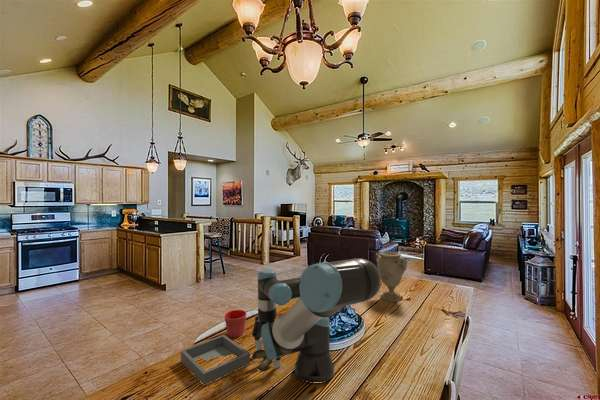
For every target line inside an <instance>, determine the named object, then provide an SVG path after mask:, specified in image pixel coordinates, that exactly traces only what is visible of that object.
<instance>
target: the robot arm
mask: <svg viewBox="0 0 600 400" xmlns="http://www.w3.org/2000/svg"><path fill="white" fill-rule="evenodd" d="M256 282H257V308H258V309H257V315H256V316H255V317H254V325H253V330H252V334H251V337H252V338H254V340H255V342H254V343H255V351H257V350H259V349H261V350H265V353H266V355H267V357H268V358H269V359H273V360H272V362H273V369H274V370H276V369H278V368H280V367H281V359H282V357H285V356H288V355H291V354H295V353H298V354H297V357H296V361H295V364H294V373H295V376H296V375H297V376H296V377H297V378H298V379H299V380H300V379H301V380H300V381H302V380H304V381H308V382H324V381H327V382H328V380H329V379H330V380H331V379H332V378H333V377H334V375H335V364H334V362H333V360H332V359H333V358H332V356H331V352H330V327H331V324H330V318H332V317H333V316H335V314H336V313H337V312H339V311H340V310H341V309H342V308H344V307H348V306H351V305H356V304H359V303H363V302H367V301H369V300H371V299H373V298H374V297H376V295H378V293H379V291H380V290H381V286H382V279H381V275H380V272H379V270H378V266H376V265H375V264H374V263H373V262H371V261H370V260H368V259H364V258H358V257H357V258H351V259H350V258H349V259H343V260H336V261H331V262H330V261H328V262H327V261H325V262H317V263H314V264H311V265H308V266H307V267H306V268H305V269H304V270H303V272H302V273H301V276H300V277H296V278H295V277H294V278H289V279H281V280H279V279H278V278H277V271H276V270H275V269H273V268H272V269H271V268H265V269H260V270H259V271H258V273H257V281H256ZM294 299H297V300H296V302H295V303H293V305H292V306H291V307H290V308H289V310H288V311H287V312H286V313H283V314H279V316H277V306H285V305H287V304H288V303H289V302H290V301H291V300H294ZM330 380H329V381H330ZM304 381H303V382H304ZM324 383H325V382H324Z"/></svg>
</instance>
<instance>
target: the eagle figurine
mask: <svg viewBox="0 0 600 400" xmlns="http://www.w3.org/2000/svg"><path fill="white" fill-rule="evenodd" d="M251 358H252V359H254V360H256V359H257V360H259V359H261V362H262V363H260V364H259V365H258V366H256V368H257V369H259V370H264V371H266V370H267V369H268V368H269V366H270V365H271V364H272V363H273V359H269V358H268V357H267V355H266V353H265V350H264V349H262V350H261V349H259V350H257V351H256V350H255V351H254V352H253V353H252V356H251ZM257 369H256V370H257Z"/></svg>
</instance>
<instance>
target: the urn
mask: <svg viewBox="0 0 600 400" xmlns="http://www.w3.org/2000/svg"><path fill="white" fill-rule="evenodd" d="M401 256H402V254H401V253H400V252H397V251H384V252H379V253H377V252H376V253H375V261H376V265H377V266H376V267H377V269H378V270H379V272H380V275H381V282H382V284H384V285H385V286H386V287H387V289H388V291H384V292H383V294H381V295H380V299H382V300H384V301H388V302H390V303H396V302H398V301H401V300H403V299H404V298H403V297H404V296H403V295H400V293H398V292H395V289H396V288H397V286H398V285H400V282H401V281H402V278H403V274H405V272H406V270H407V266H408V261H407V259H405V258H403V257H401Z"/></svg>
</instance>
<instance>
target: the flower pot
mask: <svg viewBox="0 0 600 400" xmlns="http://www.w3.org/2000/svg"><path fill="white" fill-rule="evenodd" d="M246 320H247V312H246V311H245V310H244V309H243V310H242V309H233V310H229V311H226V313H225V314H224V322H225V326H226V327H225V328H226V333H227V337H228V336H229V337H231V338H238V336H239V337H241V336H242V335H244V332H245V327H246Z"/></svg>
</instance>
